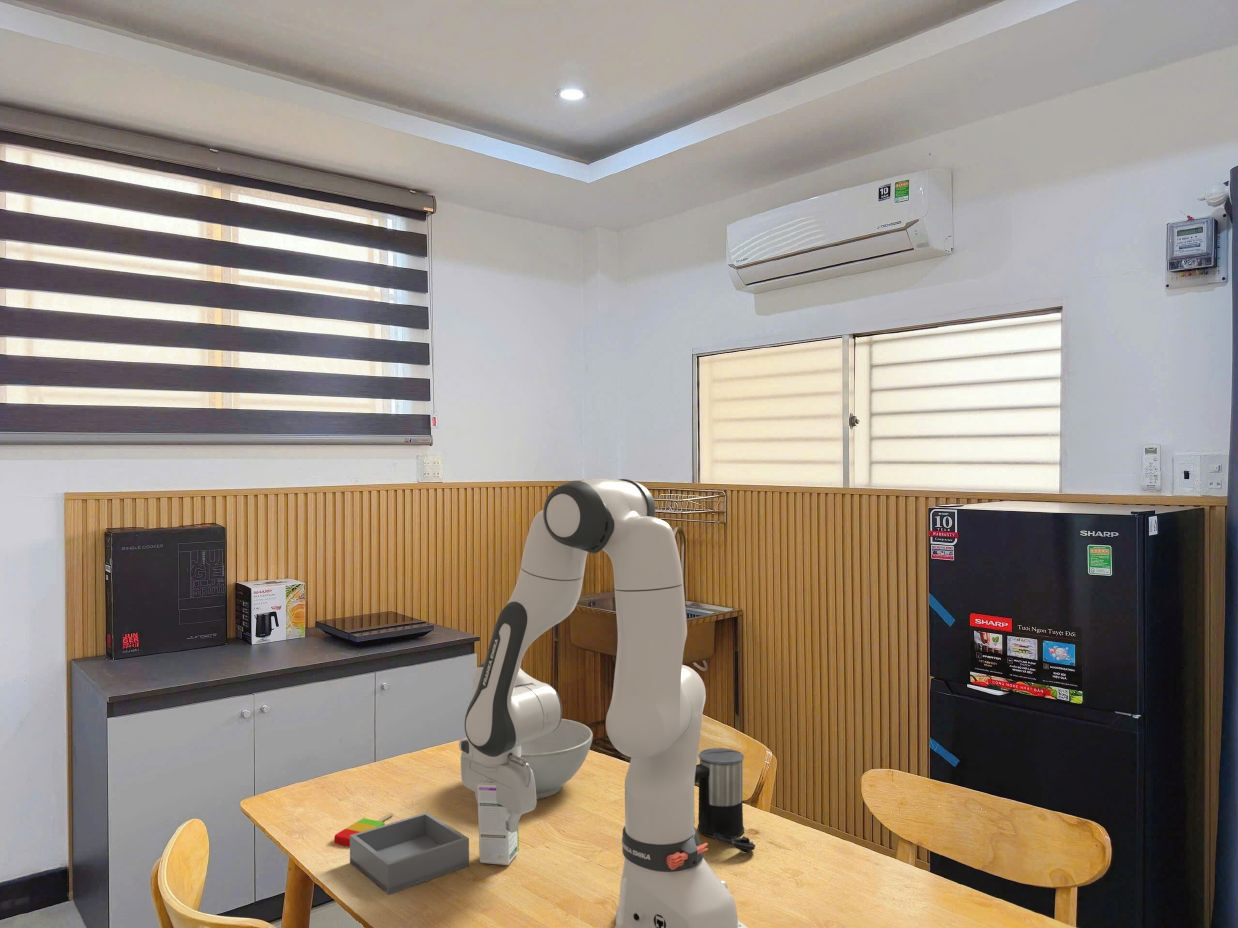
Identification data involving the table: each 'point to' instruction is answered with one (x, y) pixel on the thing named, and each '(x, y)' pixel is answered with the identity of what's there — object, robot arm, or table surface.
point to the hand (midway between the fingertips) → (498, 823)
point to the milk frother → (722, 796)
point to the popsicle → (358, 829)
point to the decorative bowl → (557, 756)
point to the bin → (408, 852)
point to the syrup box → (494, 828)
